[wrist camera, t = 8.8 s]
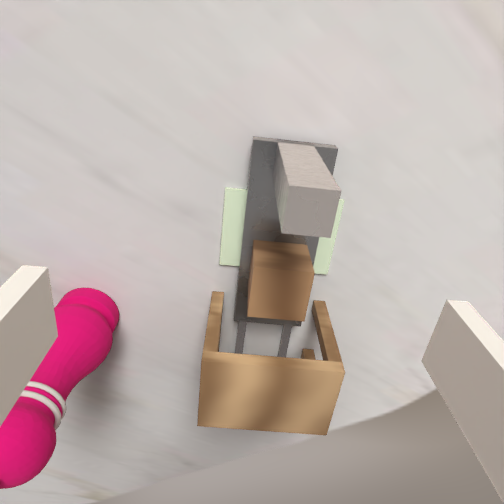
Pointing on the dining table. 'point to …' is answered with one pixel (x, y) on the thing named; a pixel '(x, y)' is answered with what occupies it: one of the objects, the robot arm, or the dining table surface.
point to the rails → (283, 343)
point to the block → (279, 280)
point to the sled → (286, 204)
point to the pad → (235, 224)
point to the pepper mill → (55, 383)
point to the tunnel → (269, 383)
